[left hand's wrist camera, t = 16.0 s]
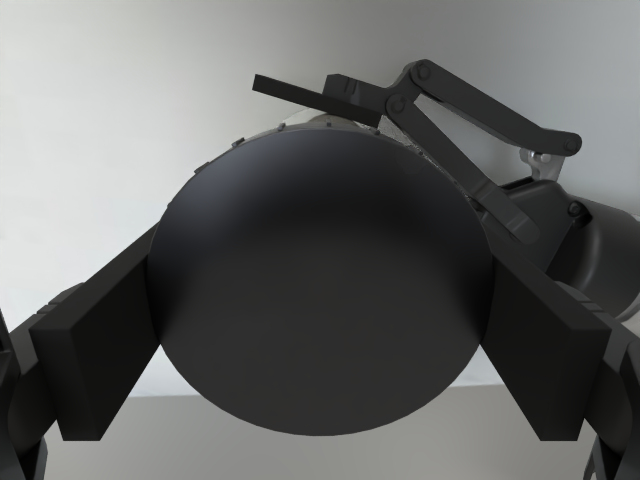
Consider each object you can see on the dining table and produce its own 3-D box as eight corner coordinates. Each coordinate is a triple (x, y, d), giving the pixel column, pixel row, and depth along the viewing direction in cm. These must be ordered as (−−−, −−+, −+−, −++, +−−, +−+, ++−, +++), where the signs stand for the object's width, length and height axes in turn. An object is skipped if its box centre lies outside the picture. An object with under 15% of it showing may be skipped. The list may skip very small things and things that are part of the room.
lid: (148, 110, 10) (118, 113, 9) (505, 127, 10) (537, 133, 9) (178, 394, 13) (160, 433, 12) (447, 403, 14) (463, 442, 12)
